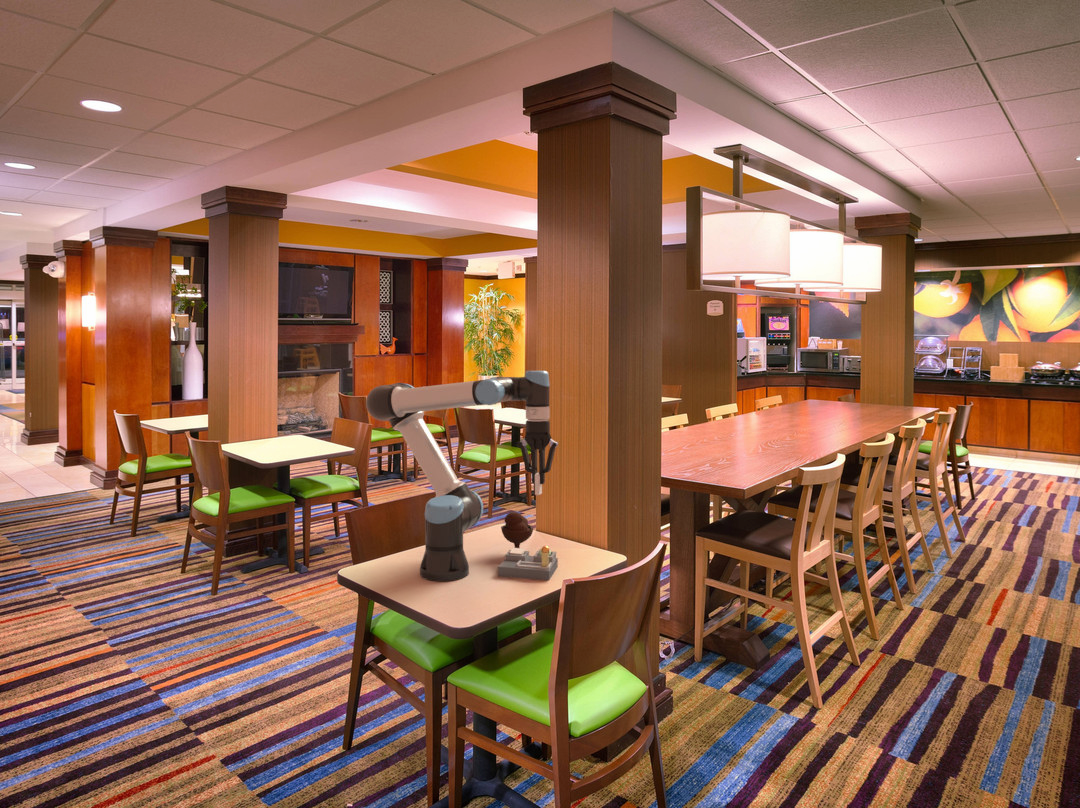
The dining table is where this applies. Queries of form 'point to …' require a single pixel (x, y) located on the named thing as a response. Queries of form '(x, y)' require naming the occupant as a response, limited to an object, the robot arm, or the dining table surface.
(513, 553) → the rocker
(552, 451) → the robot arm
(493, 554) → the dining table surface
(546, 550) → the brass lever
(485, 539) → the dining table surface
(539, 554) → the green button
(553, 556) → the console
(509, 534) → the ice cream bowl
